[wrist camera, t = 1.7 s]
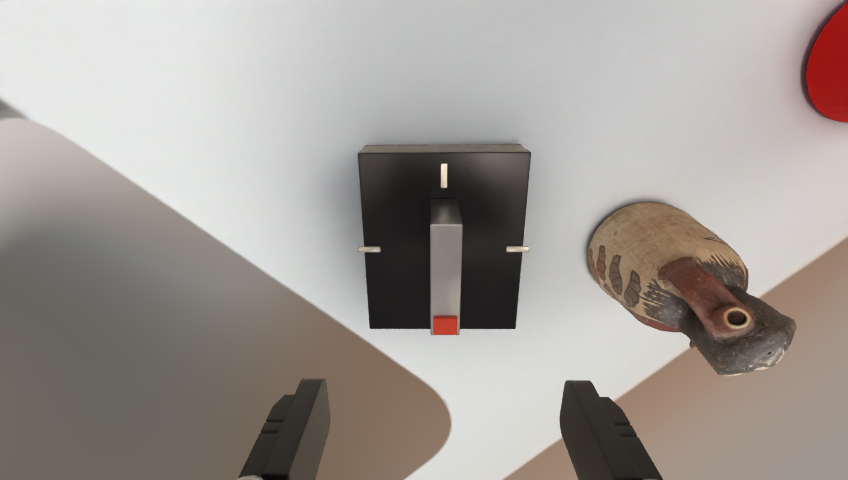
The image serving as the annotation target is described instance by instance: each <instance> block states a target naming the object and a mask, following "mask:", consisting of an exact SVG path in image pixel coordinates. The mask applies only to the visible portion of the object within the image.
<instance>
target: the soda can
mask: <svg viewBox="0 0 848 480" xmlns="http://www.w3.org/2000/svg"><path fill="white" fill-rule="evenodd" d="M806 83H807V88H808V93H809V96H810V98H811V100H812V102H813V104H814V106H815V107H816V108H817V109H818V110H819V111H820V112H821V113H822V114H824V115H825V116H827V117H828V118H830V119H833V120H836V121H839V122H846V123H848V2H847V3H846V4H845V5H844V6H843V7H842V8H841V9H840V10H839V11H838V12H836V13H835V14H834V16H833V17H832V18H831V19H830V21H829V22H828V23H827V24H826V26H825V27H824V28H823V30H822V31H821V33H820V35H819V36H818V38H817V40H816V41H815V43H814V45H813V48H812V50H811V53H810V55H809V59H808V64H807V68H806Z"/></svg>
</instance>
